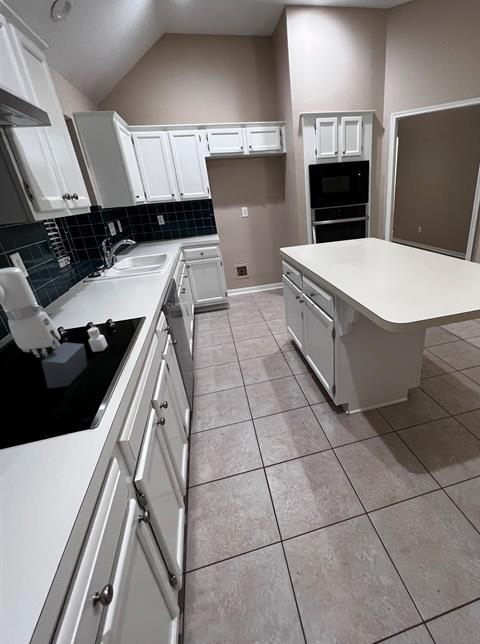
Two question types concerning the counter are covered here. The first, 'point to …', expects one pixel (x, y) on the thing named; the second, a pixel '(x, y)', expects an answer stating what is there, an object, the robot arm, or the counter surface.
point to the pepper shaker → (96, 340)
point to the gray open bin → (64, 364)
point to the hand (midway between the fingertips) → (50, 365)
